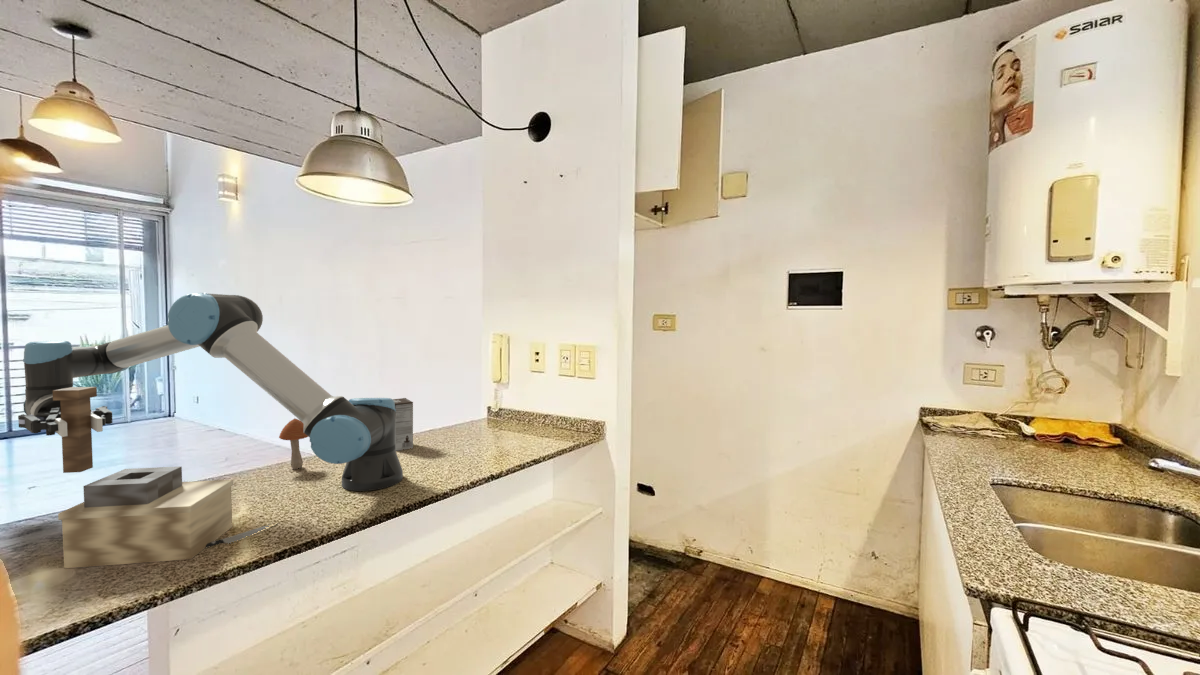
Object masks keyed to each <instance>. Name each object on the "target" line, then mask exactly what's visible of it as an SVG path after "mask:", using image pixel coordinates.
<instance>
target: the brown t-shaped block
mask: <svg viewBox="0 0 1200 675" xmlns="http://www.w3.org/2000/svg"><path fill="white" fill-rule="evenodd" d="M97 392H98V391H97V386H73V387H70V388H64V389H58V390H53V400H60V405H61V419H62V420H64V421H65V422H67V435H68V436H65V437H61V448H62V451H61V452H62V453H61V454H62V472H63V474H69V473H82V472H85V471H88V470H90V469H93V468H94V465H93V463H94V461H93V460H94V459H93V440H92V439H93V437H92V436H93V434H92V428H91V410H92V409H91V398H95V397H97V396H98V394H97Z"/></svg>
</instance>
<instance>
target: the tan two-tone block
mask: <svg viewBox="0 0 1200 675" xmlns="http://www.w3.org/2000/svg"><path fill="white" fill-rule="evenodd" d="M233 486H234V479H217V480H216V479H215V480H198V481H195V480H194V481H183V467H182V466H166V467H165V466H163V467H157V466H156V467H138V468H133V467H132V468H124V469H121V470H118V471H117V472H114V473H112V474H110V475H109V474H108V475H107V476H105V477H102V478H100V479H98V480H95V481H93V482H90V483H88V484H85V485H83V486H82V487H83V488H82V489H83V501H82V502H81V503H78V504H76V505H74V506H72V507H70V508H67V509H65V510H63V511H61V512H59V513H57V515H58V516H57V517H58V518H57V519H58V521H61V528H62V548H63V551H62V552H63V568H64V569H74V568H88V567H100V566H101V567H102V566H116V565H129V564H141V563H145V564H146V563H155V562H168V561H169V562H171V561H183V560H186V561H187V560H192V559H193V558H195V557H196V556H197V555H198V554H199V553H201V552H203V550H204V549H206V548H205V547H206V545H207V544H208V543H210V542H213V541H216V540H218V539H219V538H220V537H221V536H223V535H224V534H225V533H226V532H227V530H228V531H229V530H230V529H232V528H233V506H232V505H233V503H232V499H233V498H232V487H233Z"/></svg>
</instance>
